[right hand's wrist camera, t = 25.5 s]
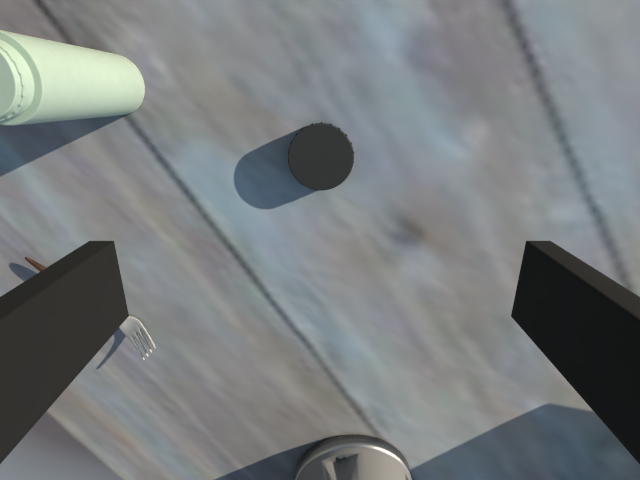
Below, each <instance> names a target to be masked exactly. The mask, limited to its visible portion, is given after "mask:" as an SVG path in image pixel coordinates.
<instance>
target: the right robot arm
mask: <svg viewBox="0 0 640 480" xmlns="http://www.w3.org/2000/svg"><path fill="white" fill-rule="evenodd" d="M128 317H129V315H128V310H127V305H126V300H125V295H124V290H123V285H122V280H121V275H120V270H119V265H118V260H117V255H116V250H115V245H114V241H89V242H87V243H86V244H84V245H82V246H81V247H79V248H78V249H76V250H74V251H73V252H71V253H70V254H68V255H67V256H65V257H63V258H62V259H60V260H59V261H57V262H55V263H54V264H52V265H51V266H49V267H47V268H46V269H44V270H43V271H41V272H39V273H38V274H36V275H35V276H33V277H31V278H30V279H28V280H27V281H25V282H24V283H22V284H20V285H19V286H17V287H16V288H14V289H12V290H11V291H9V292H8V293H6V294H4V295H3V296H1V297H0V464H1V462H2V461H3V460H4V459H5V458H6V457H7V455H8V454H9V453H10V452H11V451H12V450H13V449H14V448H15V446H16V445H17V444H18V443H19V442H20V441H21V439H22V438H23V437H24V436H25V435H26V434H27V432H28V431H29V430H30V429H31V428H32V427H33V426H34V425H35V423H36V422H37V421H38V420H39V419H40V418H41V417H42V415H43V414H44V413H45V412H46V411H47V410H48V408H49V407H50V406H51V405H52V404H53V403H54V402H55V400H56V399H57V398H58V397H59V396H60V395H61V394H62V392H63V391H64V390H65V389H66V388H67V387H68V385H69V384H70V383H71V382H72V381H73V380H74V379H75V377H76V376H77V375H78V374H79V373H80V372H81V371H82V369H83V368H84V367H85V366H86V365H87V364H88V362H89V361H90V360H91V359H92V358H93V357H94V356H95V354H96V353H97V352H98V351H99V350H100V349H101V348H102V346H103V345H104V344H105V343H106V342H107V341H108V339H109V338H110V337H111V336H112V335H113V334H114V333H115V331H116V330H117V329H118V328H119V327H120V326H121V325H122V323H123V322H124V321H125V320H126V319H127V318H128ZM511 317H512V318H513V319H514V320H515V321H516V322H517V323H518V325H519V326H520V327H521V328H522V329H523V330H524V331H525V333H526V334H527V335H528V336H529V337H530V338H531V339H532V341H533V342H534V343H535V344H536V345H537V346H538V348H539V349H540V350H541V351H542V352H543V353H544V354H545V356H546V357H547V358H548V359H549V360H550V361H551V362H552V364H553V365H554V366H555V367H556V368H557V369H558V371H559V372H560V373H561V374H562V375H563V376H564V377H565V379H566V380H567V381H568V382H569V383H570V384H571V385H572V387H573V388H574V389H575V390H576V391H577V392H578V394H579V395H580V396H581V397H582V398H583V399H584V400H585V402H586V403H587V404H588V405H589V406H590V407H591V408H592V410H593V411H594V412H595V413H596V414H597V415H598V417H599V418H600V419H601V420H602V421H603V422H604V423H605V425H606V426H607V427H608V428H609V429H610V430H611V431H612V433H613V434H614V435H615V436H616V437H617V438H618V439H619V441H620V442H621V443H622V444H623V445H624V446H625V448H626V449H627V450H628V451H629V452H630V453H631V454H632V456H633V457H634V458H635V459H636V460H637V461H638V462H639V464H640V297H639V296H637V295H636V294H634V293H632V292H631V291H629V290H628V289H626V288H624V287H623V286H621V285H620V284H618V283H616V282H615V281H613V280H612V279H610V278H609V277H607V276H605V275H604V274H602V273H601V272H599V271H597V270H596V269H594V268H593V267H591V266H589V265H588V264H586V263H585V262H583V261H581V260H580V259H578V258H577V257H575V256H573V255H572V254H570V253H569V252H567V251H565V250H564V249H562V248H561V247H559V246H558V245H556V244H554V243H553V242H551V241H526V245H525V250H524V255H523V260H522V265H521V270H520V275H519V280H518V285H517V290H516V295H515V300H514V305H513V310H512V315H511ZM295 480H412V478H411V474H410V470H409V466H408V463H407V461H406V459H405V458H404V456H403V455H402V454H401V453H400V451H398V450H397V449H396V448H395V447H394V446H392V445H391V444H389V443H387V442H385V441H383V440H380V439H378V438H374V437H370V436H365V435H343V436H337V437H333V438H330V439H327V440H325V441H322V442H320V443H318V444H317V445H315V446H313V447H312V448H311V449H309V450H308V451H307V452H306V453H305V454H304V455H303V457H302V458H301V459H300V461H299V463H298V465H297V467H296V471H295Z"/></svg>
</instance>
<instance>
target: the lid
mask: <svg viewBox="0 0 640 480" xmlns="http://www.w3.org/2000/svg"><path fill="white" fill-rule="evenodd" d="M288 153H289V155H288V160H289V161H288V163H289V166H290V169H291V171H292V173H293V175H294V176H295V178H296V179H297V180H298V181H299V182H300V183H301V184H303V185H304V186H306V187H308V188H310V189H314V190H328V189H332V188H334V187H336V186H338V185H339V184H341V183H342V182H343V181H344V180H345V179H346V178H347V177H348V175H349V174H350V172H351V169H352V166H353V163H354V162H353V161H354V152H353V148H352V143H351V142H350V141H349V139H348V138H347V135H346V134H344V133H343V132H342V131H341V130H340V128H337V127H335V126H333V125H332V124H326V123H322V122H321V123H316V124H313V123H312V124H311V125H309V126H307V127H305V128H304V127H303V129H302V130H301V131H300V132H299V133H298V134H296V137H295V138H294V140H293V141H292V142H291V146H290V149H289V151H288Z"/></svg>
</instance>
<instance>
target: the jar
mask: <svg viewBox="0 0 640 480" xmlns="http://www.w3.org/2000/svg"><path fill="white" fill-rule="evenodd" d="M144 94H145V85H144V81H143V78H142V75H141V73H140V71H139V70H138V68H137V67H136V66H135V65H134V64H133V63H132V62H131V61H130V60H128V59H127V58H125V57H123V56H121V55H117V54H113V53H108V52H103V51H99V50H94V49H89V48H84V47H79V46H74V45H70V44H65V43H60V42H55V41H50V40H45V39H41V38H36V37H31V36H26V35H21V34H17V33H12V32H7V31H2V30H0V124H1V125H8V126H9V125H23V124H33V123H44V122H55V121H65V120H76V119H86V118H97V117H107V116H118V115H126V114H130V113H132V112H134V111H135V110H137V109H138V108H139V106H140V105H141V103H142V101H143V99H144Z"/></svg>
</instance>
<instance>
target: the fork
mask: <svg viewBox="0 0 640 480" xmlns="http://www.w3.org/2000/svg"><path fill="white" fill-rule="evenodd" d="M25 259H26V260H27V261H28V262H29V263H30V264H31V265H33V266H34V267H35V268H36V269H38V270H39V271H40V272H41V271H43V270H44V269H46V268H45V267H44V266H42V265H40V264H39V263H37V262H35V261H33V260H32V259H30V258H28V257H25ZM119 328H120V330H121V331H122V332H123V333H124V334H125V335H126V336H127V337H128V338H129V340H130V341H131V342H132V343H133V344H134V346H135V347H136V349H137V350H138V352H139V353H140V355H141V357H142V358H143V360H145V359H144V357H143V355H142V353H141V351H140V349H139V347H138V346H137V344H136V342H135V341H134V338H135V339H136V340H137V341H138V343H139V344H140V346H141V347H142V349H143V350H144V352H145V353H146V355H147V356H148V354H147V352H146V350H145V348H144V346H143V344H142V342H141V341H140V339H139V337H138V335H137V333H138V334H139V335H140V336H141V338H142V339H143V341H144V342H145V344H146V345H147V347H148V348H149V350H150V352H152V350H151V348H150V346H149V345H148V343H147V341H146V339H145V337H144V336H143V334H142V332H141V330H143V332H144V333H145V334H146V336H147V337H148V339H149V340H150V342H151V343H152V345H153V347H154V348H156V347H155V345H154V343H153V341H152V339H151V338H150V336H149V334H148V332H147V331H146V329H145V328H144V326H143V325H142V323H141V322H140V321H139V320H138V319H136V318H134V317H131V316H129V317H128V318H127V319H126V320H125V321H124V322H123V323H122V325H121V326H120V327H119Z"/></svg>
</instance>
